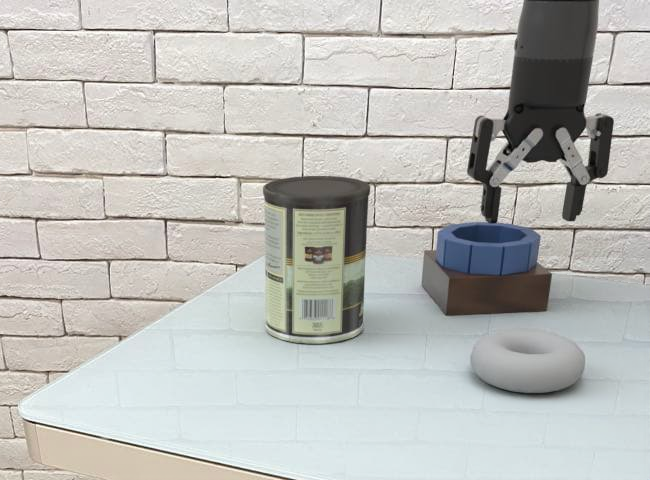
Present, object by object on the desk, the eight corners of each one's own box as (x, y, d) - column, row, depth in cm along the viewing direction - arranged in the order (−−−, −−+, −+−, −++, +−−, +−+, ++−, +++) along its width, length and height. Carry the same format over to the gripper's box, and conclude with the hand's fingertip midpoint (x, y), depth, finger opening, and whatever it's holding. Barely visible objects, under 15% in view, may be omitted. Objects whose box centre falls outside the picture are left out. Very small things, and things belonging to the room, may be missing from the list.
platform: (514, 281, 112) (518, 246, 110) (546, 310, 103) (552, 273, 101) (421, 285, 111) (424, 250, 109) (445, 315, 102) (449, 278, 100)
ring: (516, 246, 110) (519, 220, 108) (549, 273, 101) (553, 244, 99) (426, 250, 109) (429, 223, 108) (451, 277, 100) (454, 248, 99)
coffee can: (331, 306, 105) (336, 171, 98) (382, 334, 97) (391, 189, 90) (247, 320, 102) (244, 181, 94) (292, 351, 94) (294, 201, 86)
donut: (602, 378, 87) (506, 349, 93) (610, 341, 85) (512, 314, 91) (544, 410, 81) (446, 377, 87) (550, 372, 79) (450, 341, 85)
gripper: (494, 56, 91) (474, 231, 99) (640, 54, 92) (608, 227, 100) (472, 50, 97) (455, 215, 106) (608, 47, 98) (581, 211, 107)
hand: (529, 220), depth 103 cm, fingers open, 8 cm apart
